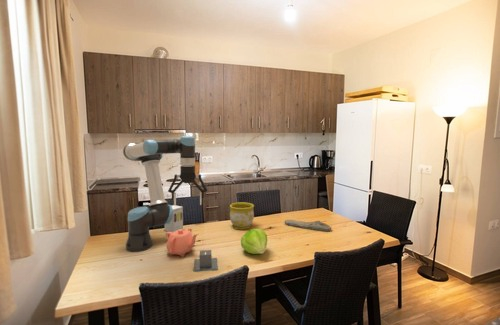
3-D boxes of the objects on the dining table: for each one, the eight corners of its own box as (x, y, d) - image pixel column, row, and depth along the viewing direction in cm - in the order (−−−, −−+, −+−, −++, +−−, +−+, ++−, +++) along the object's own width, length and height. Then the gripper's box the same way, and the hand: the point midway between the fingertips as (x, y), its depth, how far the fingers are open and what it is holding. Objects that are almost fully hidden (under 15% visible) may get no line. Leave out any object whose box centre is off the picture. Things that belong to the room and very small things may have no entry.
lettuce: (247, 262, 143) (247, 237, 142) (237, 247, 162) (237, 225, 161) (274, 258, 148) (274, 234, 147) (261, 244, 167) (261, 223, 166)
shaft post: (194, 260, 145) (194, 252, 145) (216, 259, 147) (216, 250, 146) (193, 271, 133) (193, 262, 133) (217, 269, 135) (217, 260, 135)
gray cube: (199, 261, 142) (199, 250, 142) (211, 260, 143) (211, 249, 143) (199, 266, 136) (199, 254, 136) (211, 266, 137) (211, 254, 137)
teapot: (191, 244, 166) (191, 223, 165) (199, 255, 151) (199, 232, 150) (164, 249, 159) (164, 227, 158) (170, 261, 144) (169, 237, 143)
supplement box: (173, 233, 186) (172, 209, 185) (164, 230, 191) (163, 207, 189) (183, 229, 194) (183, 206, 193) (174, 227, 199) (173, 204, 197)
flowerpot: (231, 222, 209) (231, 202, 208) (254, 223, 209) (254, 202, 207) (228, 230, 191) (228, 208, 190) (253, 231, 191) (253, 208, 189)
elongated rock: (287, 223, 213) (282, 228, 204) (286, 217, 212) (282, 221, 203) (332, 228, 196) (329, 233, 187) (332, 221, 195) (329, 226, 187)
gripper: (162, 166, 137) (162, 207, 139) (211, 166, 141) (211, 206, 143) (164, 164, 144) (165, 203, 147) (211, 164, 148) (211, 202, 151)
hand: (188, 204), depth 145 cm, fingers open, 13 cm apart
